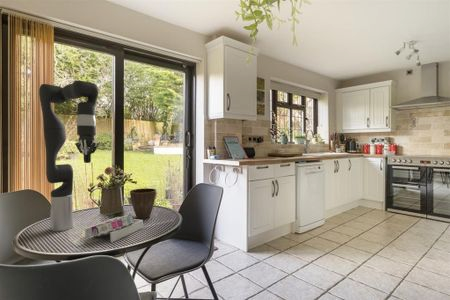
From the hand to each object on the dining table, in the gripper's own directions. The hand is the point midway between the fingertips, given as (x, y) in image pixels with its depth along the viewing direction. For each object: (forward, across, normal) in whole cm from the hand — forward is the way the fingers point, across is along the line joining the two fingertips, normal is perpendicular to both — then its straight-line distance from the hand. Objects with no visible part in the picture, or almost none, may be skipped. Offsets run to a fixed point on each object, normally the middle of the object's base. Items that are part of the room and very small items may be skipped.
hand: (87, 162), depth 112 cm
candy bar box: (+32, -5, +1) cm, 32 cm away
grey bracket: (+35, -6, -10) cm, 37 cm away
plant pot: (+35, -2, -35) cm, 50 cm away
